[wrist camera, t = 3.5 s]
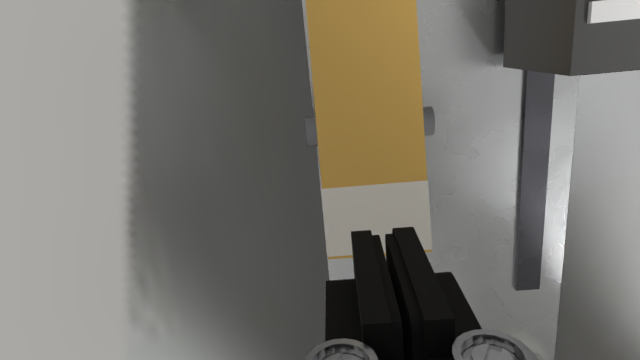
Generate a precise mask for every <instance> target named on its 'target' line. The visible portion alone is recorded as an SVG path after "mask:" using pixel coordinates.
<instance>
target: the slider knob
mask: <svg viewBox="0 0 640 360" xmlns="http://www.w3.org/2000/svg"><path fill="white" fill-rule="evenodd" d="M503 67H505V68H513V69H520V70H528V71H535V72H542V73H550V74H557V75H565V76H578V75H589V74H600V73H611V72H622V71H633V70H640V0H505V27H504V55H503Z"/></svg>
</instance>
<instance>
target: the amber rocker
mask: <svg viewBox="0 0 640 360" xmlns="http://www.w3.org/2000/svg"><path fill="white" fill-rule="evenodd" d="M306 11H307V23H308V34H309V46H310V57H311V69H312V81H313V92H314V104H315V115H316V117H307V118H305V133H306V141H307V146H313V145H318V150H319V161H320V173H321V184H322V188H321V192H322V203H323V215H324V226H325V238H326V249H327V257H328V259H342V258H353V253H352V241H351V231H363V230H371V233H372V235H379V236H380V239H381V243H382V247H383V251H384V255H386V247H385V234H392V229H393V228H402V227H414V229H415V231H416V233H417V236H418V238H419V240H420V242H421V244H422V247H423V249H424V251H425V253H426V252H432V235H431V219H430V203H429V187H428V180H427V166H426V150H425V136H429V135H434V132H435V115H434V110H433V107H432V106H429V107H423V102H422V86H421V70H420V53H419V37H418V21H417V5H416V0H306Z"/></svg>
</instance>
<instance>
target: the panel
mask: <svg viewBox="0 0 640 360" xmlns="http://www.w3.org/2000/svg"><path fill="white" fill-rule="evenodd" d="M416 5H417V21H418V37H419V53H420V70H421V86H422V102H423V107H429V106H432V107H433V110H434V115H435V132H434V135H429V136H425V150H426V166H427V180H428V187H429V203H430V219H431V235H432V252H426V255H427V258H428V260H429V262H430V264H431V266H432V269H433V271H434V273H439V272H452V274H453V275H454V277H455V279H456V281H457V283H458V284H459V286H460V288H461V290H462V292H463V294H464V296H465V298H466V299H467V301H468V303H469V305H470V307H471V309H472V311H473V313H474V314H475V316H476V318H477V320H478V322H479V324H480V326H481V328H482V329H488V330H495V331H500V332H503V333H506V334H509V335H511V336H513V337H515V338H516V339H518V340H520V341H521V342H522V343H523V344H525V345H526V346H527V347H528V348H529V349H530V350H531V351H532V353H533V354H534V355H535V356H536V357H537V358H538V359H539V360H554V357H555V346H556V335H557V324H558V313H559V301H560V290H561V279H562V268H563V257H564V245H565V234H566V223H567V212H568V200H569V189H570V178H571V167H572V156H573V144H574V133H575V122H576V111H577V100H578V88H579V77H580V75H578V76H565V75H557V74H550V73H542V72H535V71H528V70H520V69H513V68H505V67H503V55H504V27H505V0H416ZM302 8H303V18H304V28H305V38H306V48H307V59H308V69H309V79H310V89H311V99H312V109H313V117H316V115H315V104H314V92H313V81H312V69H311V57H310V46H309V34H308V23H307V11H306V0H302ZM316 149H317V159H318V170H319V180H320V190H321V188H322V184H321V173H320V161H319V150H318V145H316ZM321 200H322V192H321ZM322 210H323V203H322ZM323 220H324V215H323ZM324 230H325V226H324ZM325 240H326V238H325ZM326 250H327V249H326ZM385 258H386V255H385ZM327 260H328V270H329V280H343V279H354V266H353V258H342V259H328V257H327Z"/></svg>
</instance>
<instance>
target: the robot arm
mask: <svg viewBox="0 0 640 360" xmlns="http://www.w3.org/2000/svg"><path fill="white" fill-rule="evenodd" d="M351 241H352V253H353V266H354V279H343V280H329V281H326V336H325V342H323V343H321V344H320V345H318V346H316V347H314V348H313V349H312V350H311V351H310V352H309V353H308V355H307V357H306V359H305V360H539V359H538V358H537V357H536V356H535V355H534V354H533V353H532V351H531V350H530V349H529V348H528V347H527V346H526V345H525V344H523V343H522V342H521V341H520V340H518V339H516V338H515V337H513V336H511V335H509V334H506V333H503V332H500V331H495V330H488V329H482V328H481V326H480V324H479V322H478V320H477V318H476V316H475V314H474V313H473V311H472V309H471V307H470V305H469V303H468V301H467V299H466V298H465V296H464V294H463V292H462V290H461V288H460V286H459V284H458V283H457V281H456V279H455V277H454V275H453V274H452V272H439V273H434V271H433V269H432V266H431V264H430V262H429V260H428V258H427V255H426V253H425V251H424V249H423V247H422V244H421V242H420V240H419V238H418V236H417V233H416V231H415V229H414V227H402V228H393V229H392V234H385V247H386V258H385V255H384V251H383V247H382V243H381V239H380V236H379V235H372V233H371V230H363V231H351Z"/></svg>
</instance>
